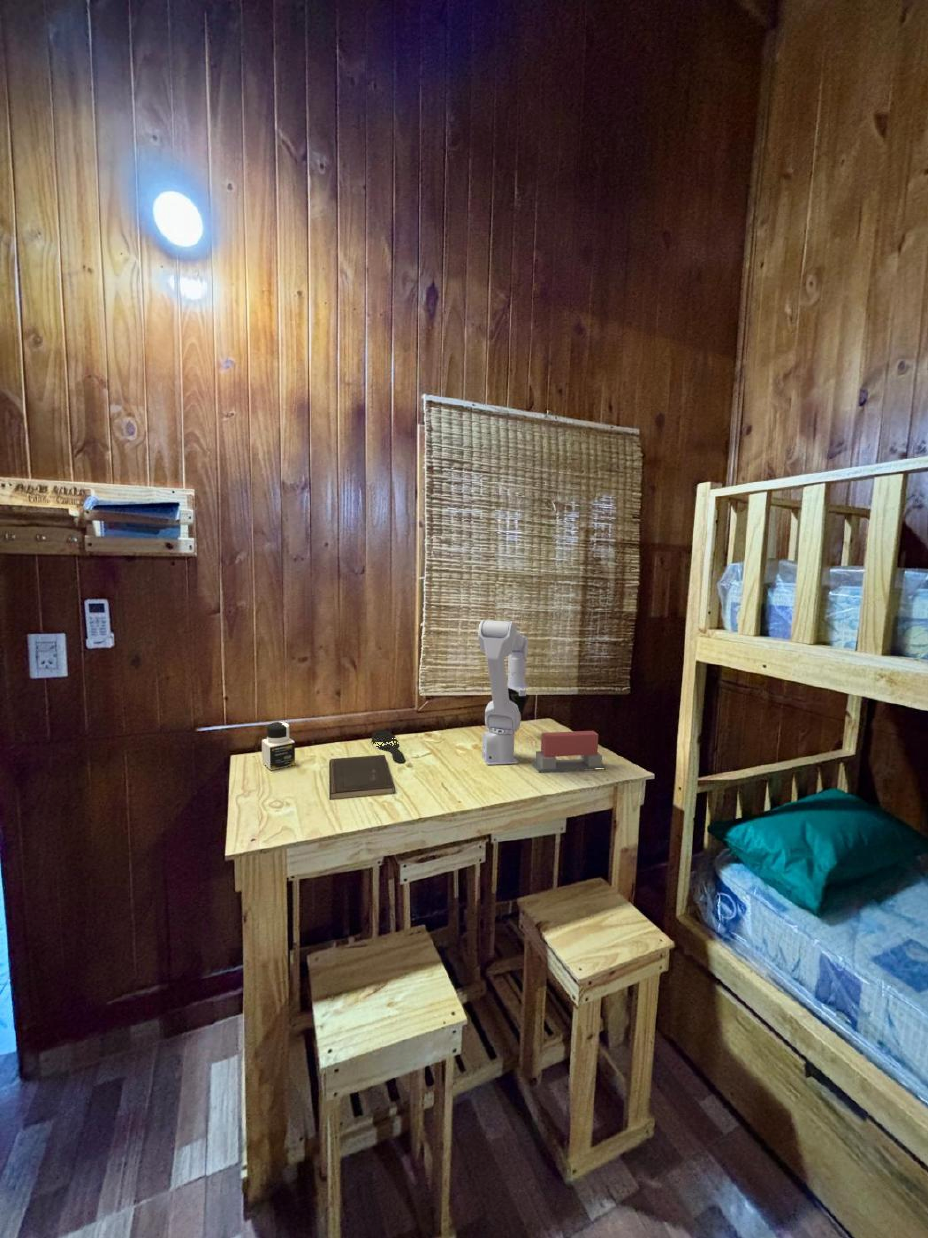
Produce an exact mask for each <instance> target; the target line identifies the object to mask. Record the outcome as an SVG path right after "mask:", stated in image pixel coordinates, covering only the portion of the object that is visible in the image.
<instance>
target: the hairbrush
mask: <svg viewBox="0 0 928 1238" xmlns="http://www.w3.org/2000/svg"><path fill="white" fill-rule="evenodd" d="M392 738H393V739H392ZM394 738H396V736H395V735H394V734H393V733H392V732H391V731H389V730H387V729H383V728H381V729H376V730H374V731H373V732H372V736H371V743H372V742H373V744H374V743H375V742H383V743H384V742H385V744H386V742H388V743H389V742H391V741H393V743H394V741H396V743H397V742H398V743H399V741H398V739H397V738H396V739H394ZM380 740H381V741H380ZM383 743H382V744H383ZM396 743H394V745H393V746H392V743H390V744H391V745H390V744H389V745H388V744H387V745H384V746H382V744H381V745H379V744H378V743H377V744H378V745H379V746H380V747H379V746H376V747H378V748H380V749H384V750H383V751H387V750H389V751H390V753H391V756H392V759H393V761H394V763H396V764H399V765H400V764H401V765H402V764H405V761H406V759H405V755H404V753H403V752H402V751H401V750H400V749H399V746H398V744H396ZM373 744H372V745H373ZM375 744H376V743H375ZM395 744H396V745H395ZM376 747H375V748H376ZM397 747H398V748H397ZM378 748H377V749H378ZM380 749H379V750H380Z"/></svg>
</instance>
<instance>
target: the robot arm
mask: <svg viewBox="0 0 928 1238" xmlns="http://www.w3.org/2000/svg"><path fill="white" fill-rule="evenodd" d="M477 630H478V632H477V637H478V645H479V649H480V652H481V653H482V654H483V655H485V659H486V663H487V669H488V670H487V671H488V676H489V677H488V678H489V683H490V691H491V699H492V700H491V701H489V702H488V703H487V705H486V707H485V710H484V724H485V726H486V728H487V729H488V730H486V731H482V735H481V737H482V739H481V741H482V743H481V757H482V759H483V762H485V764H486V765H487V766H493V765H494V766H495V765H514V764H515V765H516V764H519V761H518V759H516V757H515V732H518V731H519V729H520V728H521V719H522V718H521V717H522V716H523V714H524V711H525V707H526V705H527V702H528V700H529V699H530V695H529V694H526V693H527V690H526V688H529V686H530V685H529V684H528V683H526V668H527V667H526V666H527V658H528V652H529V651H528V650H529V645H530V644H529V637H527V636H526V635H523V634H521V633H520V631H519V630H518V628H517V623H516V622H515V621H514V620H511V621H510V620H509V621H507V620H506V621H505V620H488V619H482V620H481V621H480V623H479V625H478V629H477ZM506 657H508V659H507V660H508V662H507V669H506V661H505V659H506Z"/></svg>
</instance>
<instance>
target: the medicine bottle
mask: <svg viewBox="0 0 928 1238" xmlns="http://www.w3.org/2000/svg"><path fill="white" fill-rule="evenodd" d="M261 762H262V763H261V764H263V765H264V766H265V765H266V766H267V767H268V768H267V767H266V766H265V767H266V768H267V769H268V770H269V769H270V770H269V771H271V770H272V771H275V769H276V770H279V769H278V768H280V769H283V768H282V767H285V768H287V767H286V766H289V767H292V766H291V765H293V766H296V742H295V740H293V739H292V738H290V725H289V723H287V722H284V721H277V722H272V723H269V724H268V725H267V726H266V738H263V739H262V740H261Z"/></svg>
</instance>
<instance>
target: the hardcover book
mask: <svg viewBox="0 0 928 1238" xmlns="http://www.w3.org/2000/svg"><path fill="white" fill-rule="evenodd" d="M328 768H329V769H328V774H329V775H328V776H329V777H328V783H329V784H328V785H329V787H328V788H329V791H328V792H329V793H328V794H329V795H328V796H329V797H328V798H329V800H332V799H333V800H334V799H342V798H344V799H345V798H353V797H356V798H357V797H364V796H365V797H366V796H376V795H377V796H378V795H385V794H393V793H394V789H395V785H394V780H393V778H392V774H391V771H390V768H389V764H388V762H387V758H386V754H379V755H378V754H377V755H365V756H363V755H362V756H351V757H339V758H338V757H337V758H330V759H329V760H328Z"/></svg>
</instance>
